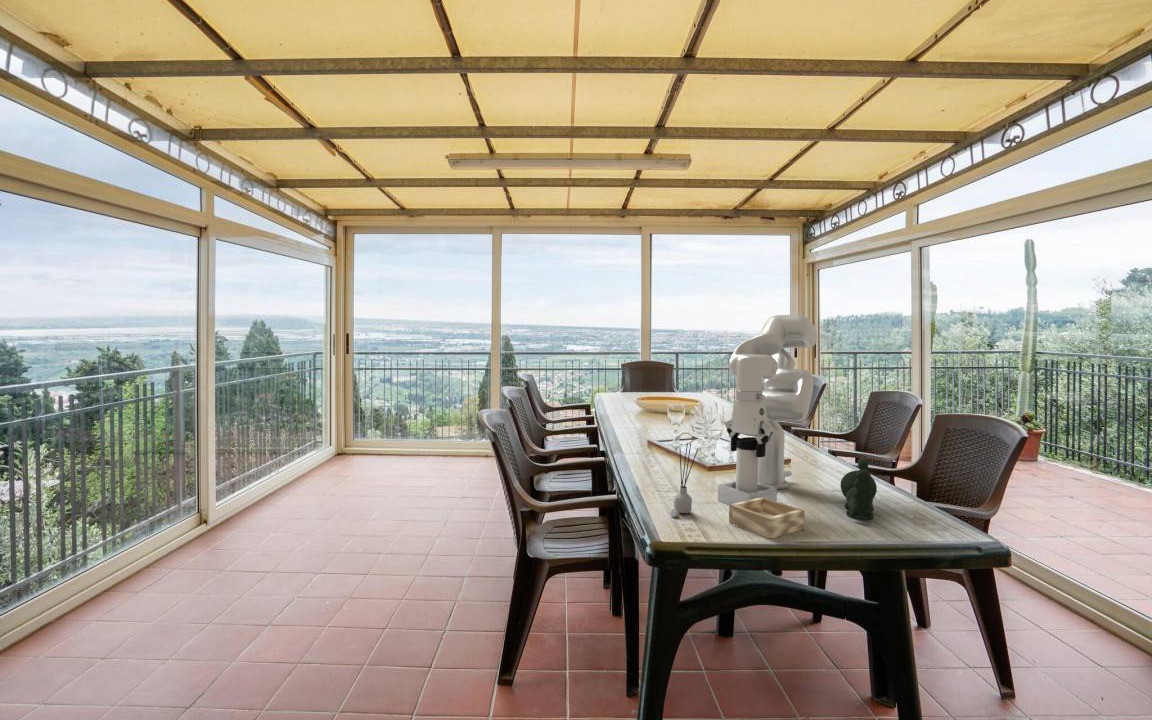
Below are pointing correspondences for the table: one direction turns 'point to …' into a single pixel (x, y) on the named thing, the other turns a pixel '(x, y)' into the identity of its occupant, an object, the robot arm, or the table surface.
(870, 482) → the toy figurine
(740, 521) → the light wooden tray
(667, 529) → the table surface
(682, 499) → the reed diffuser
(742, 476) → the travel mug
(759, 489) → the open box
